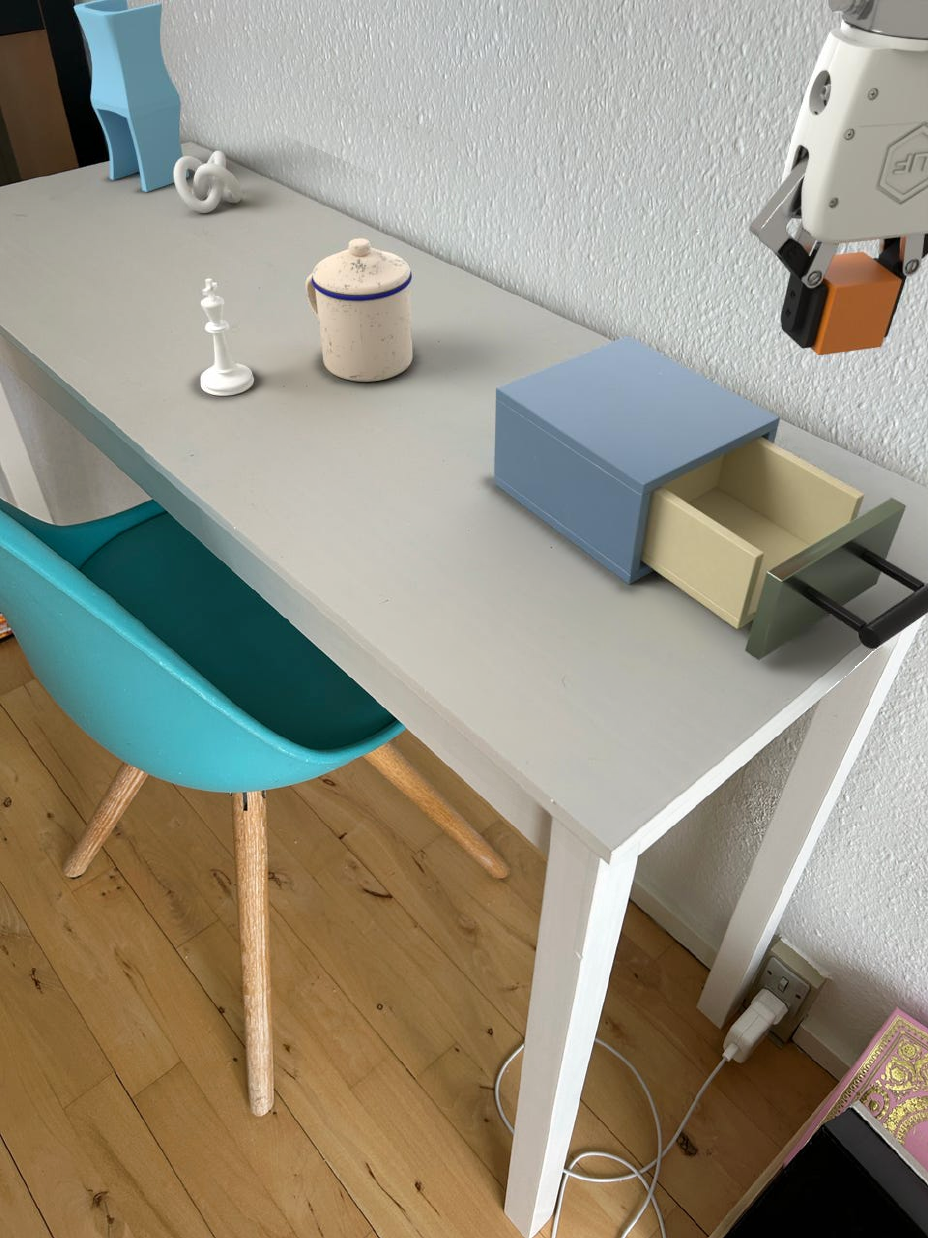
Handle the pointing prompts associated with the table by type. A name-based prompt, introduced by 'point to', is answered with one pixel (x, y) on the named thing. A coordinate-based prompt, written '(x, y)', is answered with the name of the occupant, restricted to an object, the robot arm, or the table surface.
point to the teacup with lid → (363, 312)
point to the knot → (206, 182)
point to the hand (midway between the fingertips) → (833, 330)
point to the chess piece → (221, 351)
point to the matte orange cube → (855, 304)
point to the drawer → (776, 546)
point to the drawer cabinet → (613, 442)
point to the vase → (133, 90)
